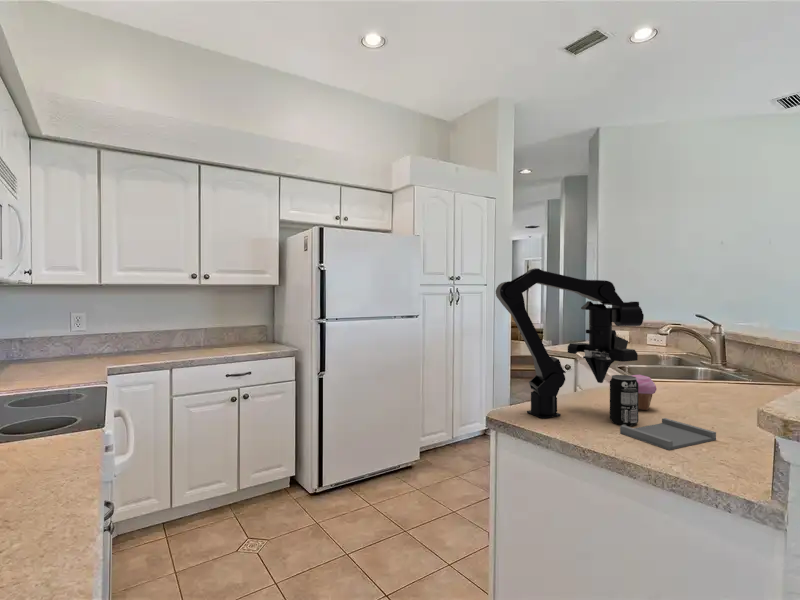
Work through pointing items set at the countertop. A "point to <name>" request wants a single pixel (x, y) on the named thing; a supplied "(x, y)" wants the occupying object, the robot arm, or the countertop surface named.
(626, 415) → the beverage can
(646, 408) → the cupcake
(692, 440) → the grey tray
